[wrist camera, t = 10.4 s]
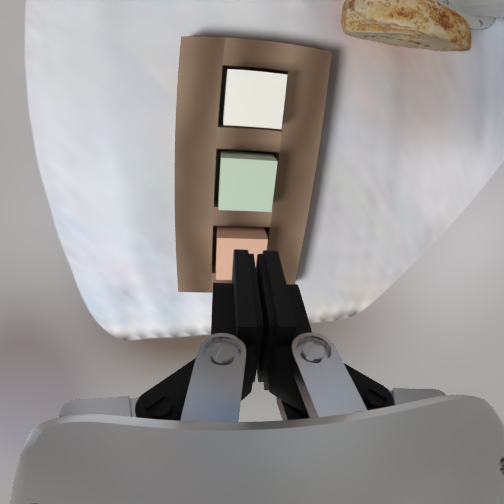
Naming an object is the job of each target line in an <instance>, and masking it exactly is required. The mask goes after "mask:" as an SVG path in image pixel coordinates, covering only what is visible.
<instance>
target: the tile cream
mask: <svg viewBox="0 0 504 504" xmlns="http://www.w3.org/2000/svg"><path fill="white" fill-rule="evenodd" d="M286 84H287V74H279V73H270V72H261V71H250V70H236V69H228V70H227V78H226V89H225V102H224V115H223V125H231V126H247V127H261V128H273V129H282V120H283V111H284V102H285V93H286Z"/></svg>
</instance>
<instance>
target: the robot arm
mask: <svg viewBox="0 0 504 504" xmlns="http://www.w3.org/2000/svg"><path fill="white" fill-rule="evenodd" d="M436 1H438V2H439V3H441V4H443V5H445V6H447V7H448V8H450V9H453V10H455V11H456V12H458V13H459V14H460V15H461V16H462V17H464V18H465V19H466V20H467V22H468V24H469V28H470V29H486V28H488V27H490V26H491V25H492V24H493V23H494V21H495V19H496V17H503V18H504V0H436ZM256 370H257V374H258V381H259V382H264V390H269V392H271V393H272V394H274V395H275V396H276V397H277V398H276V399H277V405H278V408H279V411H280V414H281V417H282V420H283V421H268V422H266V421H265V422H238V420H239V411H240V402H241V400H243V399H244V398H245V397H246V396H247V395H248V394H249V393H250V392H251V389H252V383H253V382H254V381H255V376H256ZM10 504H504V425H503V423H502V421H501V419H500V418H499V416H498V414H497V413H496V411H495V410H494V408H493V407H492V406H491V405H490V404H489V403H488V402H487V401H485V400H483V399H481V398H477V397H474V396H467V395H445V393H443V392H442V391H440V390H436V389H405V388H393V389H392V390H391V391H389V390H388V389H387V388H385V387H384V386H383V385H381V384H379V383H377V382H375V381H374V380H372V379H370V378H369V377H367V376H365V375H363V374H362V373H360V372H358V371H356V370H355V369H353V368H351V367H350V366H348V365H346V364H344V363H343V361H342V359H341V357H340V355H339V354H338V352H337V350H336V348H335V346H334V344H333V343H332V342H331V341H330V340H329V339H328V338H326V337H325V336H323V335H321V334H317V333H312V331H311V328H310V324H309V321H308V317H307V314H306V310H305V307H304V303H303V300H302V297H301V293H300V290H299V287H298V285H297V284H286V280H285V276H284V272H283V268H282V265H281V261H280V257H279V253H278V251H269V250H263V253H262V254H258V255H257V262H256V266H255V259H254V254H249V251H248V250H240V249H234V253H233V268H232V283H213V299H212V327H211V335H210V336H208V337H206V338H205V339H204V340H203V341H202V342H201V343H200V345H199V348H198V352H197V356H196V358H195V359H193V360H192V361H191V362H189V363H188V364H186V365H185V366H183V367H182V368H181V369H179V370H178V371H176V372H175V373H173V374H172V375H170V376H169V377H167V378H166V379H164V380H163V381H161V382H160V383H159V384H157V385H156V386H154V387H153V388H151V389H150V390H148V391H147V392H145V393H144V394H143V395H141V396H140V397H139V398H132V399H130V398H129V396H125V397H124V396H123V397H110V398H94V399H75V400H70V401H69V402H67V403H66V404H65V405H64V406H63V407H62V408H61V411H60V415H59V417H56V418H53V419H50V420H47V421H45V422H43V423H41V424H39V425H38V426H36V427H35V428H34V429H33V430H32V432H31V433H30V435H29V437H28V438H27V440H26V442H25V445H24V447H23V450H22V453H21V455H20V459H19V462H18V465H17V470H16V473H15V478H14V482H13V487H12V493H11V500H10Z"/></svg>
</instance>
